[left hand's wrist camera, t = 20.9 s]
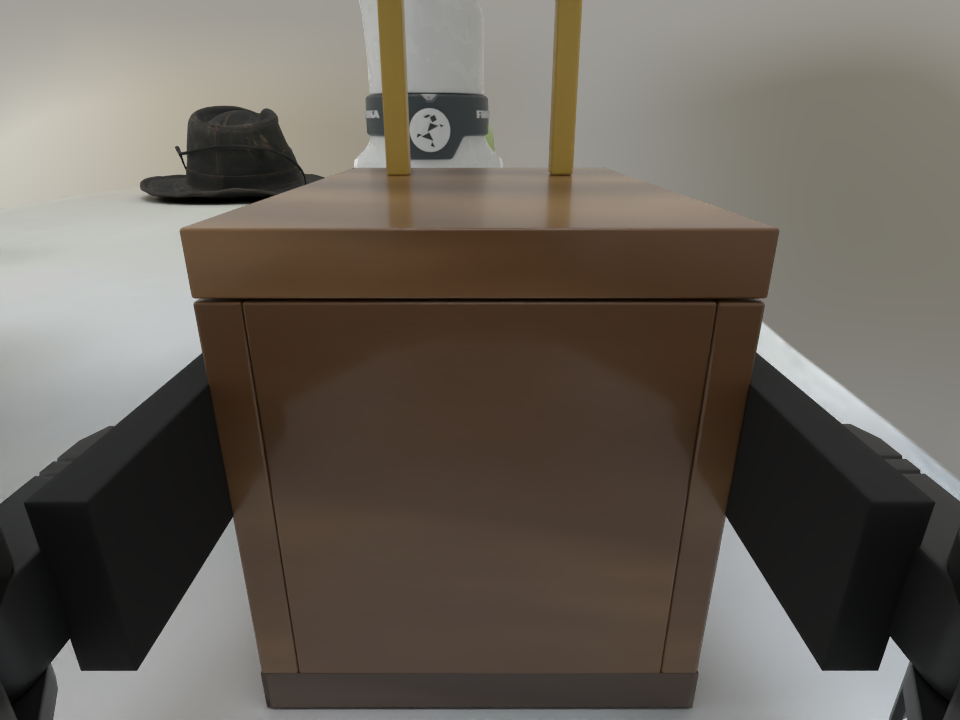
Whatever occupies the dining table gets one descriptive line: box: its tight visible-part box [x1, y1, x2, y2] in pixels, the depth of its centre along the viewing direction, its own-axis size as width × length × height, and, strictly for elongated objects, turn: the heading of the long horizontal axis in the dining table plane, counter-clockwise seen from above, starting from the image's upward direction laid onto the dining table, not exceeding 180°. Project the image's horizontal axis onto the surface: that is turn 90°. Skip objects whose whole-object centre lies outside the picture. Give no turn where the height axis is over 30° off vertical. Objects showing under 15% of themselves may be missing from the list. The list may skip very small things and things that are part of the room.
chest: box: [194, 298, 765, 707], centre depth 17 cm, size 13×9×9 cm
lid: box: [180, 0, 779, 298], centre depth 14 cm, size 14×9×9 cm
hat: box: [140, 106, 324, 198], centre depth 105 cm, size 32×35×14 cm
